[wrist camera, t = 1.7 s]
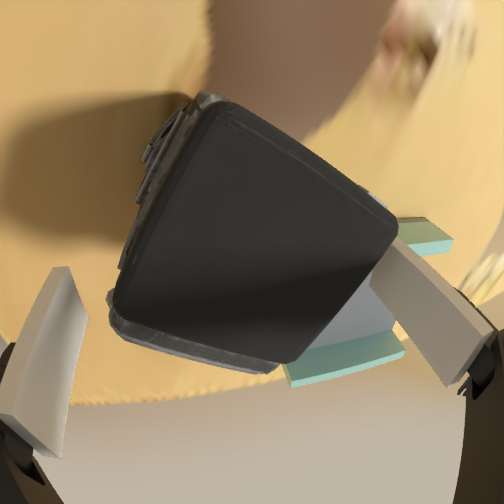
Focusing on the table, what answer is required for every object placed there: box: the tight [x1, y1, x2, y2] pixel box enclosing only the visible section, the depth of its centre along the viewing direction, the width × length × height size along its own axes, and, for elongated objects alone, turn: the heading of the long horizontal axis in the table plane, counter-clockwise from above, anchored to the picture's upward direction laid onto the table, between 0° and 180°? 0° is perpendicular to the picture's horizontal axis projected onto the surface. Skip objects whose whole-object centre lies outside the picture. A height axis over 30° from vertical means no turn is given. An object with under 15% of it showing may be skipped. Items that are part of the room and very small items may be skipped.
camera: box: [106, 91, 399, 375], centre depth 16 cm, size 10×10×15 cm
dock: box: [282, 217, 454, 388], centre depth 30 cm, size 18×16×5 cm
